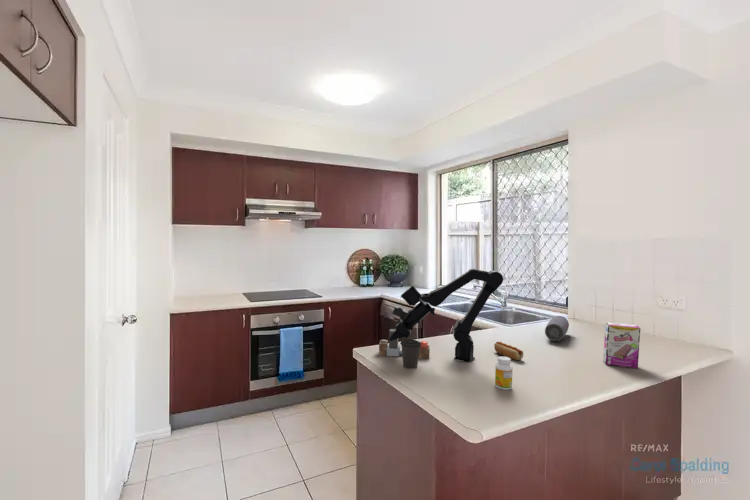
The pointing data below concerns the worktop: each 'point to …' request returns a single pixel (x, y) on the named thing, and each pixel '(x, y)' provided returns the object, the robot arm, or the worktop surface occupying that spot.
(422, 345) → the gauge button
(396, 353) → the plate
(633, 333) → the candy bar box
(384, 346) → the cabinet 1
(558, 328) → the bluetooth speaker
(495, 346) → the food
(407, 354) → the coffee cup
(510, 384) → the supplement bottle
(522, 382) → the worktop surface
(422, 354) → the cabinet
